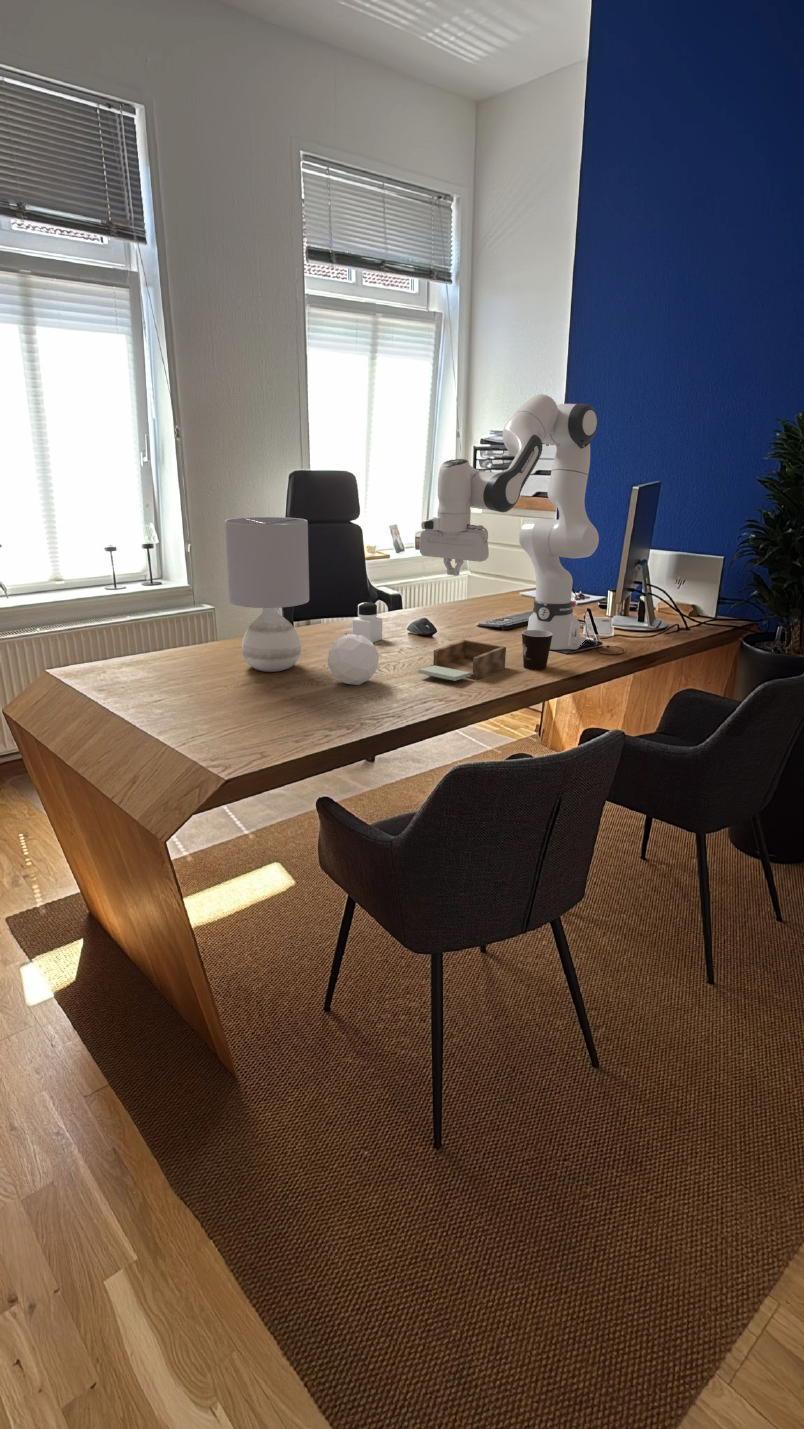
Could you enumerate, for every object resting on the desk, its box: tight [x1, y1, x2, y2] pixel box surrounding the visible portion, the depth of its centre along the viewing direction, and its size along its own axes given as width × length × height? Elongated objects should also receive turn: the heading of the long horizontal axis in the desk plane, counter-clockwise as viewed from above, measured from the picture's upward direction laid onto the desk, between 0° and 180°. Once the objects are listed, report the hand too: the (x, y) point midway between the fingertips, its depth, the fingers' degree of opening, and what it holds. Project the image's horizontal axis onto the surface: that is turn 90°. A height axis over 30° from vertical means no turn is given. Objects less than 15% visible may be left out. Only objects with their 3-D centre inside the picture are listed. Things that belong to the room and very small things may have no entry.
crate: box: [430, 639, 507, 680], centre depth 221 cm, size 17×14×6 cm
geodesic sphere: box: [327, 631, 380, 686], centre depth 206 cm, size 14×14×14 cm
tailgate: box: [418, 665, 471, 682], centre depth 212 cm, size 1×12×8 cm
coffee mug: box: [521, 629, 553, 671], centre depth 225 cm, size 12×9×10 cm
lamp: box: [224, 516, 310, 673], centre depth 214 cm, size 22×22×40 cm
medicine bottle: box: [351, 602, 383, 644], centre depth 251 cm, size 7×7×12 cm
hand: (453, 575), depth 214 cm, fingers closed
